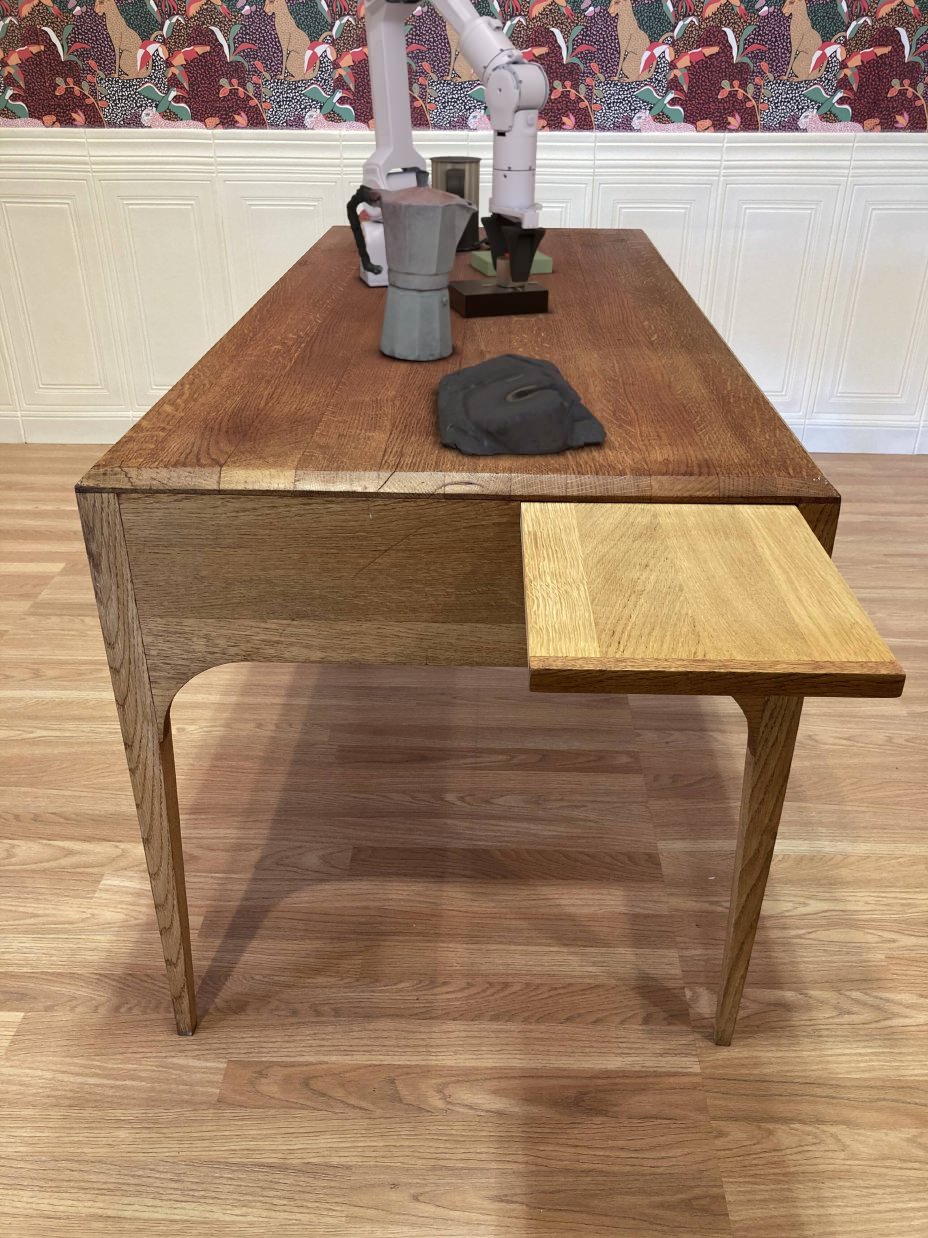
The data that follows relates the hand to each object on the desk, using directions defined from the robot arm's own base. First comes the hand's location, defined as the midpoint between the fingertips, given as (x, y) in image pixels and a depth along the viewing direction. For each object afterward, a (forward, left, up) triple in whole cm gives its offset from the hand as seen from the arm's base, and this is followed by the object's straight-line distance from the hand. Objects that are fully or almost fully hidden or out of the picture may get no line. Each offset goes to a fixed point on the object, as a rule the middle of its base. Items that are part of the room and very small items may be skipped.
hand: (510, 275), depth 134 cm
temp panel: (-2, 0, -4) cm, 5 cm away
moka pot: (-19, -19, -4) cm, 27 cm away
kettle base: (+9, +25, -4) cm, 27 cm away
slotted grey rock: (-15, -44, -4) cm, 47 cm away
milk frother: (+9, +44, -4) cm, 45 cm away
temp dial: (0, 0, -1) cm, 1 cm away
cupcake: (-7, +51, -4) cm, 52 cm away
